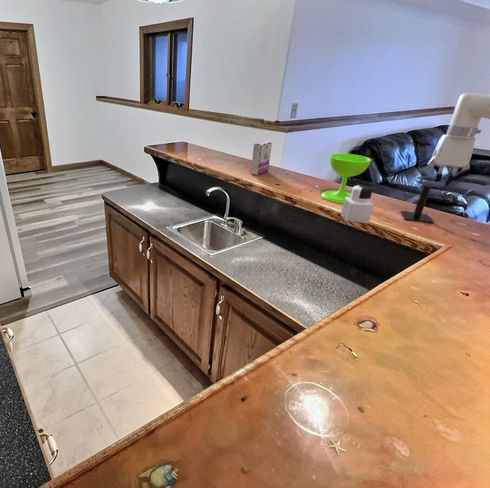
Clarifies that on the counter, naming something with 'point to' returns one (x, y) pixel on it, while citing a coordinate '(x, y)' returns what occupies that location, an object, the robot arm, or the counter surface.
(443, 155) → the robot arm
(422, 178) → the ring
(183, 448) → the counter surface
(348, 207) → the container
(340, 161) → the wineglass
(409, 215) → the stand
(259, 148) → the candy bar box
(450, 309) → the counter surface
